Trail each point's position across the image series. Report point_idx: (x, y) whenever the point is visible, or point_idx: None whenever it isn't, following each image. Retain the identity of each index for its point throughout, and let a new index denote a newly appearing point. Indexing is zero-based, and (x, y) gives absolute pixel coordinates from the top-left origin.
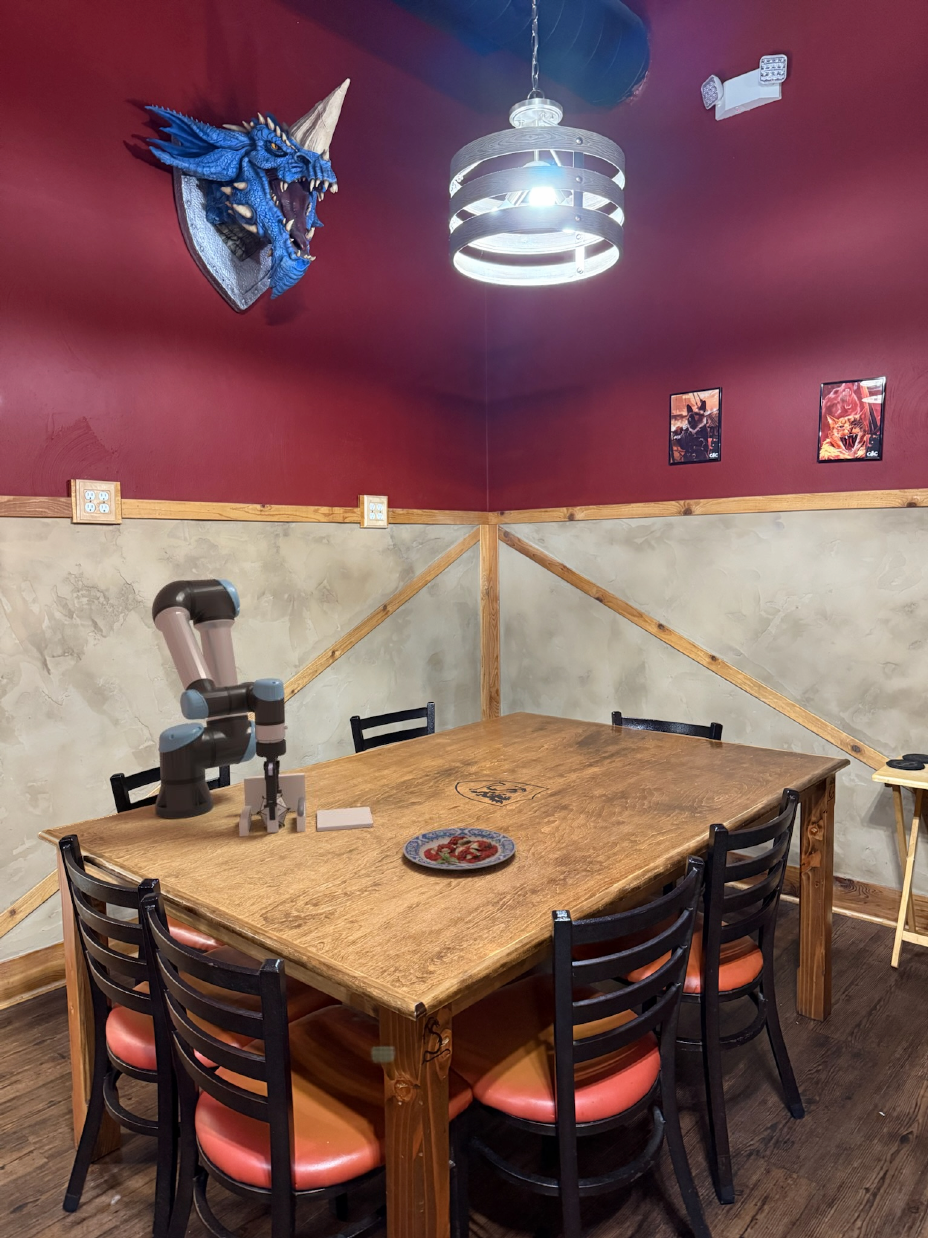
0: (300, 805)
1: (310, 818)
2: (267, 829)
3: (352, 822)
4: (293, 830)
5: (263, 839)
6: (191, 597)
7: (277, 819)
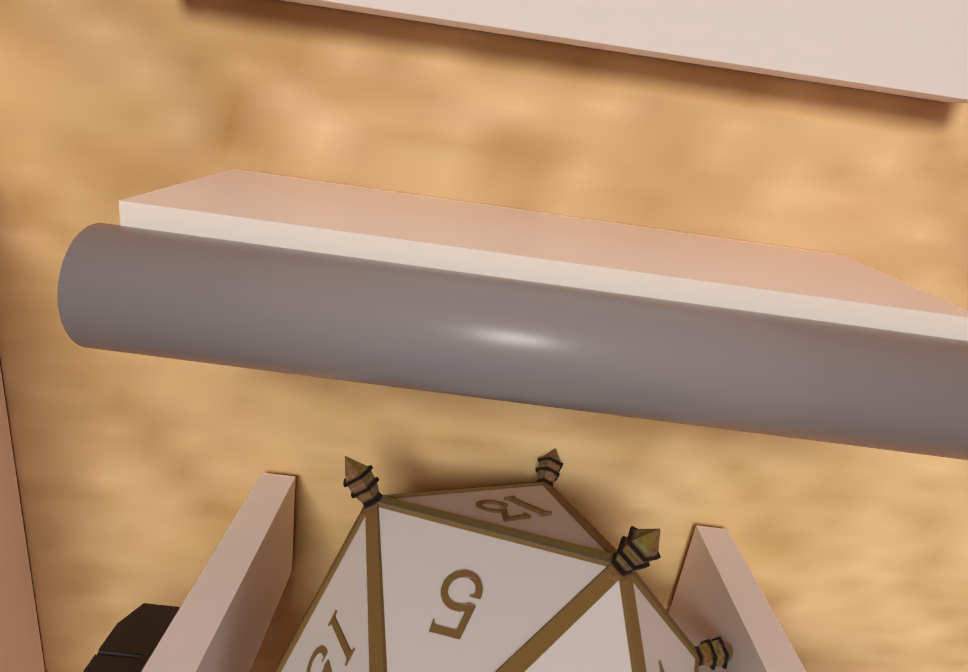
0: (703, 396)
1: (335, 114)
2: None
3: None
4: None
5: (834, 649)
6: None
7: (786, 646)
